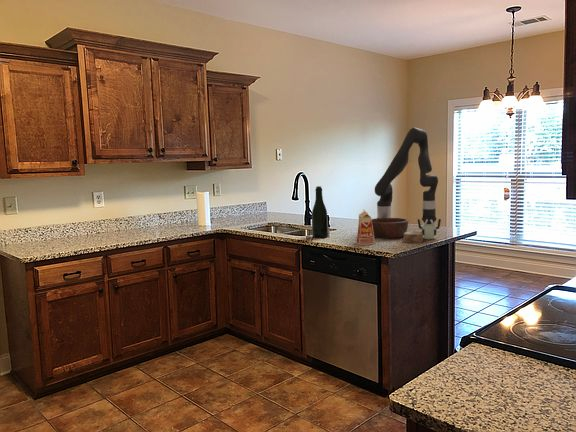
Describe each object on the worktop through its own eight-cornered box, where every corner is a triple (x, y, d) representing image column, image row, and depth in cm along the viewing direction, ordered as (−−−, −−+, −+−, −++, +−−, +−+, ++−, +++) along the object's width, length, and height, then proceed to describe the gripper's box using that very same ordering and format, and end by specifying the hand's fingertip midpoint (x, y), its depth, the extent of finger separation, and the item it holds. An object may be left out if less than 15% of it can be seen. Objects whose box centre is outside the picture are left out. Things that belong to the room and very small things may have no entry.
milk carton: (356, 242, 287) (355, 209, 285) (371, 241, 288) (370, 208, 285) (359, 245, 278) (358, 211, 276) (375, 244, 279) (374, 210, 276)
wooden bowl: (409, 239, 292) (409, 222, 291) (368, 239, 297) (367, 223, 295) (407, 232, 316) (407, 217, 315) (368, 233, 321) (368, 217, 320)
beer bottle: (315, 235, 319) (313, 185, 316) (330, 235, 316) (328, 185, 312) (310, 238, 310) (308, 186, 306) (325, 238, 306) (324, 186, 302)
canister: (424, 238, 291) (424, 224, 290) (424, 237, 296) (424, 223, 295) (434, 238, 289) (434, 224, 288) (434, 237, 295) (434, 223, 294)
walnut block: (403, 242, 283) (403, 234, 282) (406, 239, 292) (406, 231, 292) (421, 243, 279) (421, 234, 279) (423, 240, 288) (423, 231, 288)
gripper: (416, 208, 289) (416, 236, 291) (441, 208, 285) (441, 236, 287) (416, 207, 296) (417, 234, 298) (441, 207, 292) (441, 234, 294)
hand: (429, 235), depth 292 cm, fingers closed on canister, 5 cm apart
